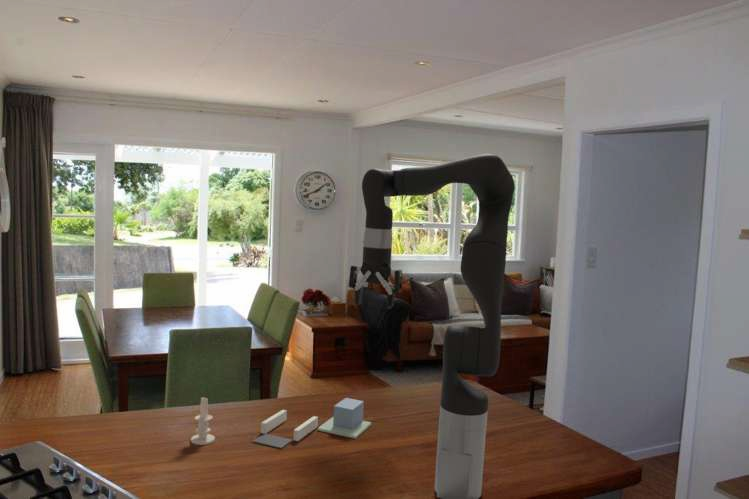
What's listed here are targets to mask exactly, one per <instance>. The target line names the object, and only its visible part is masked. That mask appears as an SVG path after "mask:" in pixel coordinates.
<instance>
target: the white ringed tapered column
mask: <svg viewBox="0 0 749 499" xmlns="http://www.w3.org/2000/svg"><path fill="white" fill-rule="evenodd" d="M199 407H200V408H199V409H200V410H199V414H197V415H196V416H195V417H194V420H196V421H198V426H197V427H198V428H196V429H195V433H196V434H195V435H192V437H191V438H190V443H192V444H193V445H198V446H206V445H210V444H212V443H214V442H215V439H216V437H215V436H214V435H213V434H210V432H211V428H209V421H210V420H212V419H213V415H211V414H209V411H208V410H209V399H208V398H207V397H205V395H204V396H203V397H200V406H199Z"/></svg>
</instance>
